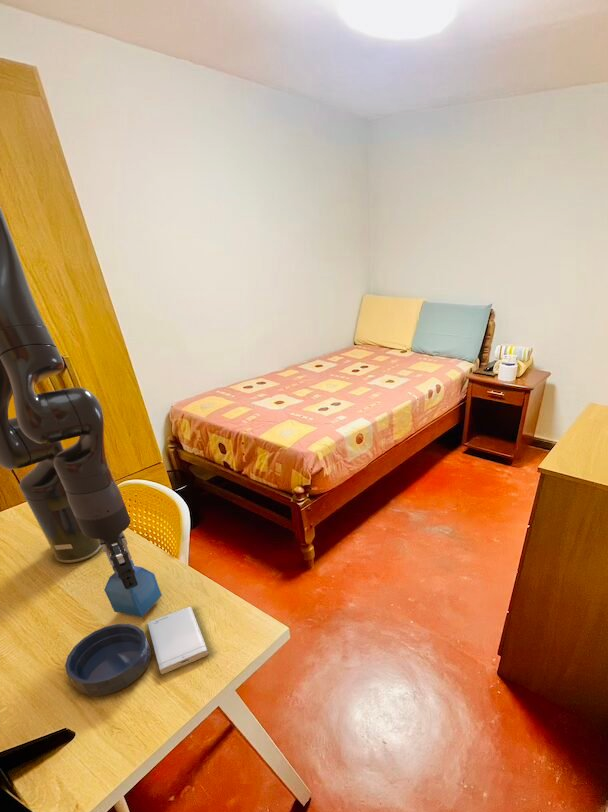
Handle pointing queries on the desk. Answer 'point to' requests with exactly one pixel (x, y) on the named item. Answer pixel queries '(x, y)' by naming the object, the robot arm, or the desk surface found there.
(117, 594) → the perfume bottle
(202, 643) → the hard drive
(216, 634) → the desk surface
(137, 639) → the bowl
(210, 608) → the desk surface
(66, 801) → the desk surface
